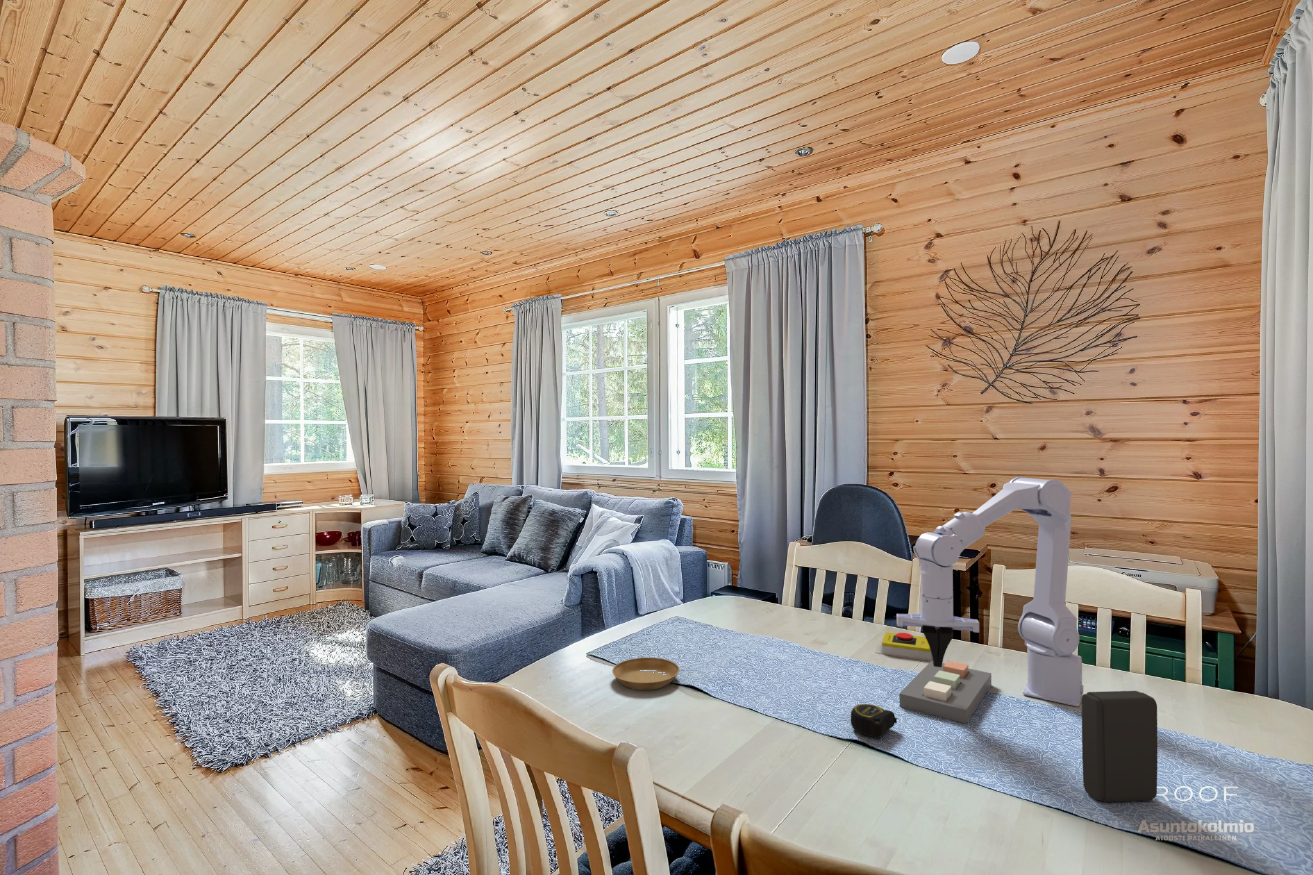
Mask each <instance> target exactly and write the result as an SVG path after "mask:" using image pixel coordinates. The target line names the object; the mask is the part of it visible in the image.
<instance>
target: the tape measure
mask: <svg viewBox="0 0 1313 875" xmlns="http://www.w3.org/2000/svg"><path fill="white" fill-rule="evenodd" d="M850 711H851V712H850V724H851V727H852V729H853V730H854V731H856V732H857V733H859V734H861V735H864V736H865V735H866V736H870V737H874V738H881V737H883V736H884V735H885V733H886V732H888V730H890V729H892V728H893V727H894V726H895V724H897V723H898V721H897V720H898V717H896V715H895V713H894V712H893V711H891V710H887V709H883V708H882V707H880V706H878V705H875V704H869V703H861V704H856V705H854V707H853V708H852V710H850Z"/></svg>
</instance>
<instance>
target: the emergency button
mask: <svg viewBox="0 0 1313 875" xmlns="http://www.w3.org/2000/svg"><path fill="white" fill-rule="evenodd" d="M876 645H877V646H876V648H875V651H874V652H875V653H876V654H878V655H886V656H891V657H892V656H893V657H901V658H907V659H915V660H923V661H928V662H931V661H933V660H932V654H931V650H930V647H929V644H928V642H927V639H926V637H925V636H923V635H922V636H920V635H914V634H911V633H908V632H895V633H894V632H884V635H883V638H882V640H881V641H878V643H877V644H876Z"/></svg>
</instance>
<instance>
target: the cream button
mask: <svg viewBox="0 0 1313 875" xmlns="http://www.w3.org/2000/svg"><path fill="white" fill-rule="evenodd" d="M924 696H926V697H930V698H934V699H939V700H943V701H948V700H949V699H950V697H951V686H949V685H945V684H940V683H936V682H932V681H929V682H928V683H927V685H926V686H925V687H924Z"/></svg>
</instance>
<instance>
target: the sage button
mask: <svg viewBox="0 0 1313 875" xmlns="http://www.w3.org/2000/svg"><path fill="white" fill-rule="evenodd" d="M934 682H936V683H940V684H945V685H949V686H951V688H952V689H957V688H958V687H959V686H960V675H958V674H954V673H949V672H944V671H940V670H939V671H938V672H937V673H936V675H935V676H934Z"/></svg>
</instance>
